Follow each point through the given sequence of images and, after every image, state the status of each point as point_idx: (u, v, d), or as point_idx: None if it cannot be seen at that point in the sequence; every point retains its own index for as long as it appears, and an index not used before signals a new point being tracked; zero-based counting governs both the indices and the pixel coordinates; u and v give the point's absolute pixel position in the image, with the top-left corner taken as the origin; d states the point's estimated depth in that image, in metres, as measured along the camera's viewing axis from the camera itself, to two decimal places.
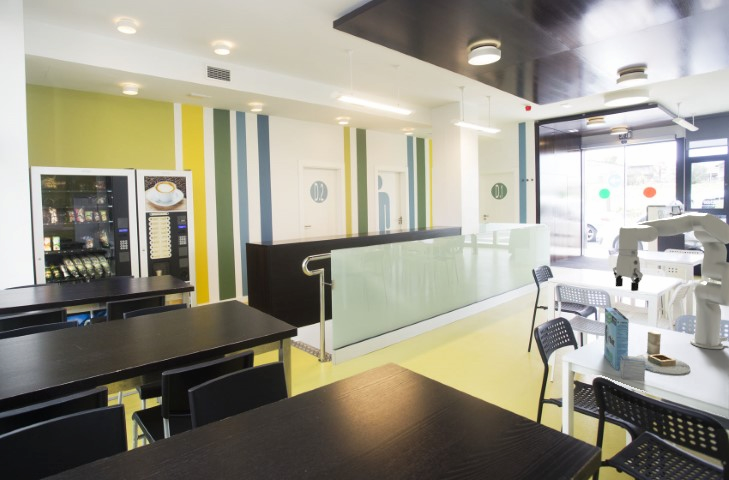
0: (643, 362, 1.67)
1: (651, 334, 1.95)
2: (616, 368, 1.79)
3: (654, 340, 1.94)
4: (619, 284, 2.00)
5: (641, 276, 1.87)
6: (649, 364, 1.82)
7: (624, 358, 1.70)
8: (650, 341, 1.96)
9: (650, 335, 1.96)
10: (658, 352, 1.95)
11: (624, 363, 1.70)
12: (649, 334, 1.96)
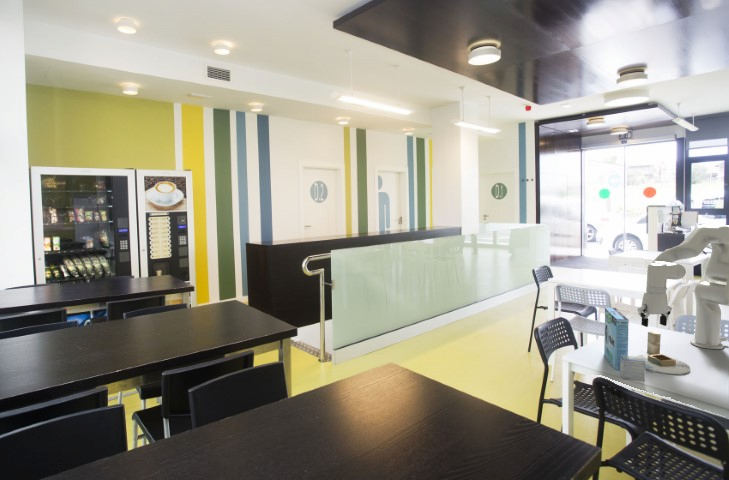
0: (643, 362, 1.67)
1: (651, 334, 1.95)
2: (616, 368, 1.79)
3: (654, 340, 1.94)
4: None
5: None
6: (649, 364, 1.82)
7: (624, 358, 1.70)
8: (650, 341, 1.96)
9: (650, 335, 1.96)
10: (658, 352, 1.95)
11: (624, 363, 1.70)
12: (649, 334, 1.96)
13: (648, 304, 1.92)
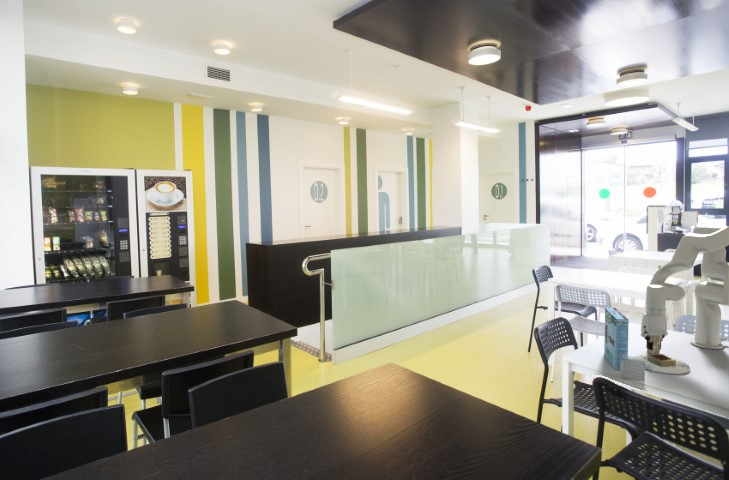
0: (643, 362, 1.67)
1: None
2: (616, 368, 1.79)
3: (654, 340, 1.94)
4: None
5: None
6: (649, 364, 1.82)
7: (624, 358, 1.70)
8: None
9: None
10: (658, 352, 1.95)
11: (624, 363, 1.70)
12: None
13: (647, 326, 1.93)
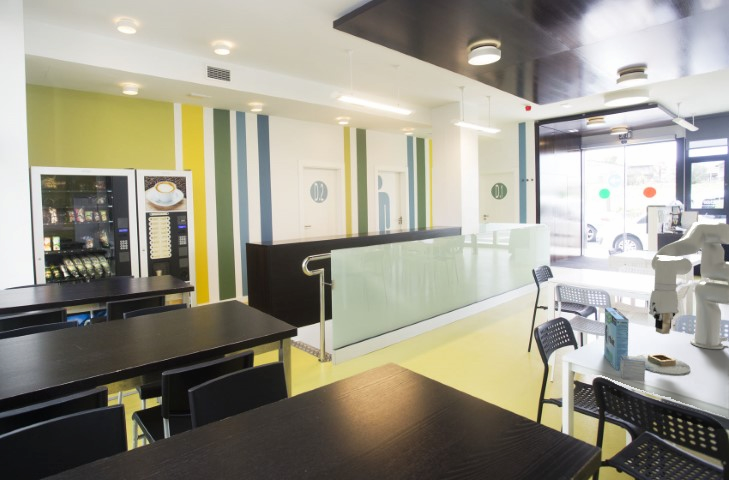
0: (643, 362, 1.67)
1: None
2: (616, 368, 1.79)
3: (663, 318, 1.79)
4: None
5: None
6: (649, 364, 1.82)
7: (624, 358, 1.70)
8: None
9: None
10: (668, 331, 1.80)
11: (624, 363, 1.70)
12: None
13: (657, 302, 1.78)
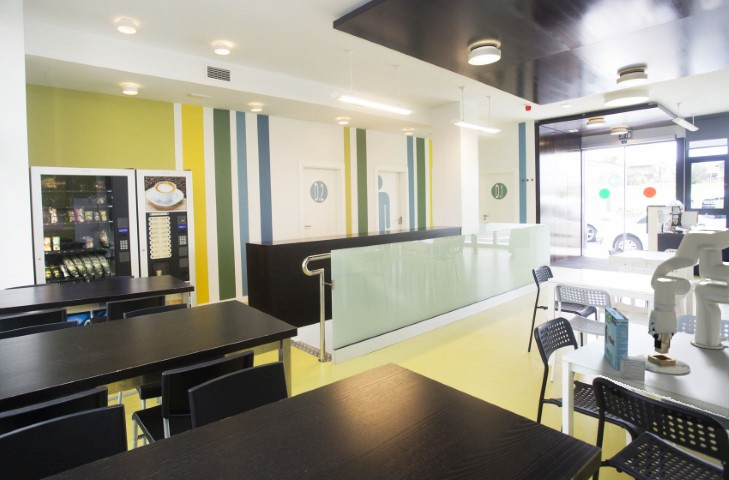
0: (643, 362, 1.67)
1: None
2: (616, 368, 1.79)
3: (662, 338, 1.80)
4: None
5: None
6: (649, 364, 1.82)
7: (624, 358, 1.70)
8: None
9: None
10: (667, 351, 1.81)
11: (624, 363, 1.70)
12: None
13: (656, 322, 1.79)
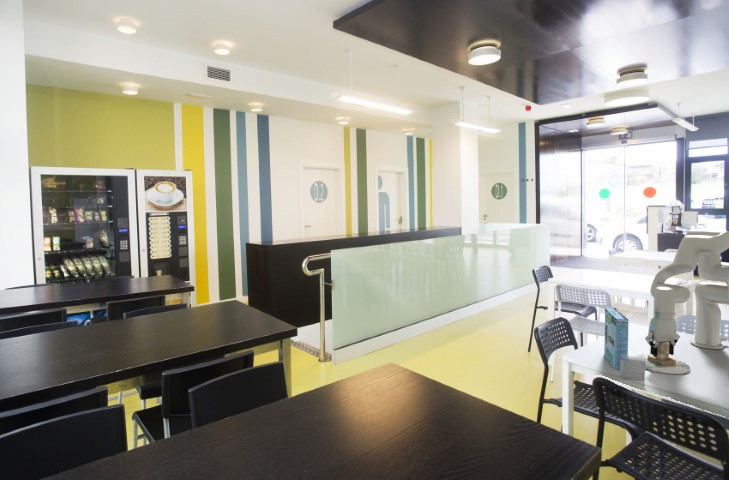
0: (643, 362, 1.67)
1: (659, 342, 1.81)
2: (616, 368, 1.79)
3: (662, 349, 1.80)
4: None
5: None
6: (649, 364, 1.82)
7: (624, 358, 1.70)
8: None
9: (658, 344, 1.82)
10: None
11: (624, 363, 1.70)
12: None
13: (655, 331, 1.79)
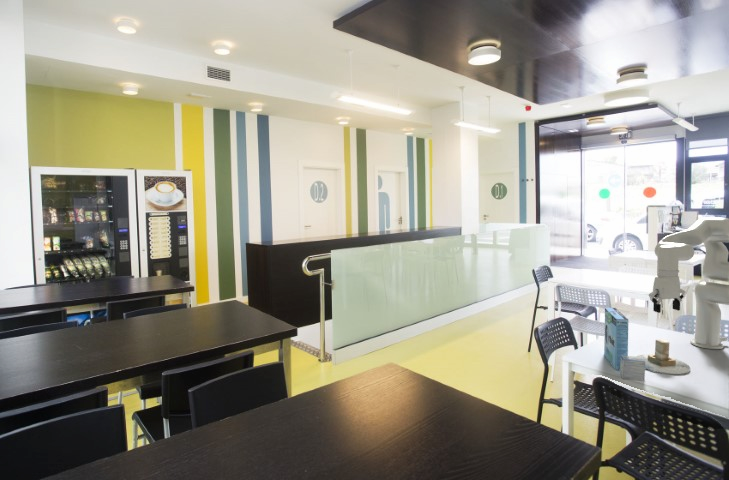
0: (643, 362, 1.67)
1: (659, 342, 1.81)
2: (616, 368, 1.79)
3: (662, 349, 1.80)
4: None
5: None
6: (649, 364, 1.82)
7: (624, 358, 1.70)
8: (657, 350, 1.82)
9: (658, 344, 1.82)
10: None
11: (624, 363, 1.70)
12: (657, 342, 1.83)
13: (660, 289, 1.81)
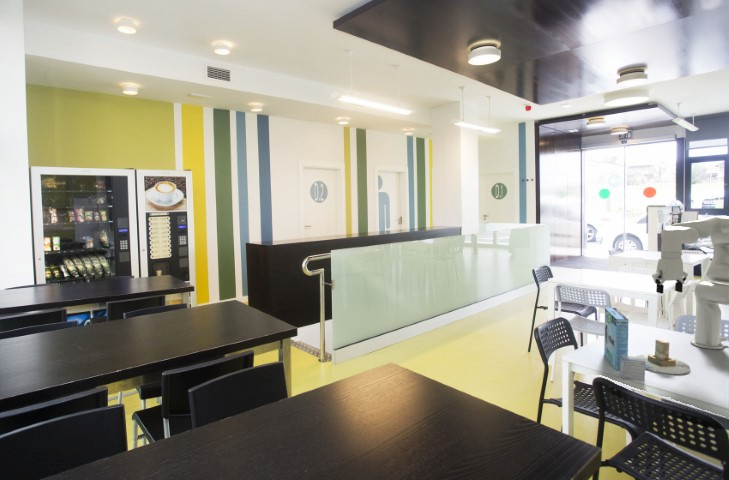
0: (643, 362, 1.67)
1: (659, 342, 1.81)
2: (616, 368, 1.79)
3: (662, 349, 1.80)
4: None
5: None
6: (649, 364, 1.82)
7: (624, 358, 1.70)
8: (657, 350, 1.82)
9: (658, 344, 1.82)
10: None
11: (624, 363, 1.70)
12: (657, 342, 1.83)
13: (663, 270, 1.87)
